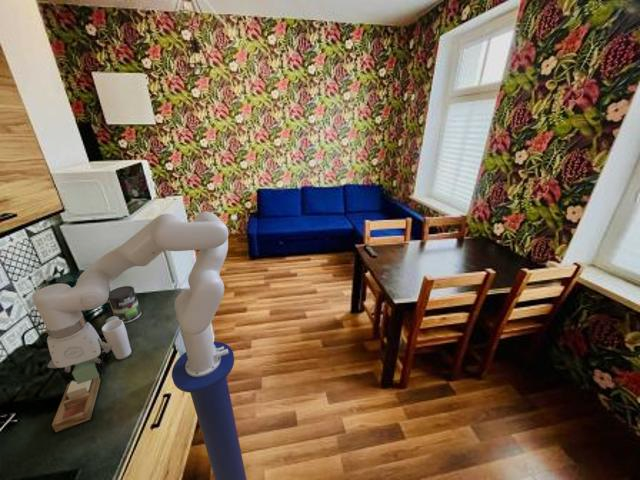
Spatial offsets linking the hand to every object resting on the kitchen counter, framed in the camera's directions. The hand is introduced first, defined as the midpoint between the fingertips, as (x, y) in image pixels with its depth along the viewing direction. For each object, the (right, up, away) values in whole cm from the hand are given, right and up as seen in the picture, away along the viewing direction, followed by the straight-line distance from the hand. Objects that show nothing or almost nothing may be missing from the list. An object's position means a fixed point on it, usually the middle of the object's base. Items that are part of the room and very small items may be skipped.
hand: (89, 373), depth 80 cm
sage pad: (0, 0, 0) cm, 0 cm away
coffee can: (-22, +3, +48) cm, 53 cm away
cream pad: (-11, -12, +10) cm, 19 cm away
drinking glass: (-9, -6, +26) cm, 28 cm away
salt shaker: (-14, -3, +32) cm, 35 cm away
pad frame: (-9, -14, +7) cm, 18 cm away
